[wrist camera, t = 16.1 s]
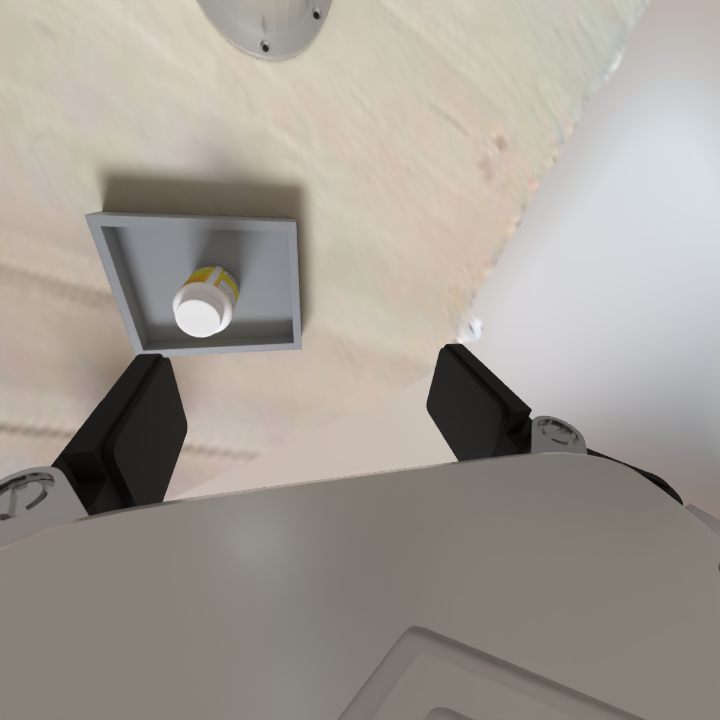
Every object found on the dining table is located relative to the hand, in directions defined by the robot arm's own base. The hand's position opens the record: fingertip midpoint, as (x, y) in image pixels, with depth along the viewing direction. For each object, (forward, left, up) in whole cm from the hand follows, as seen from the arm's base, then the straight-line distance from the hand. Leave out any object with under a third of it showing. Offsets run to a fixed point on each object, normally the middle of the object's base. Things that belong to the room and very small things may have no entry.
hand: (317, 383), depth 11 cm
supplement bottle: (+6, -9, -31) cm, 33 cm away
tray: (+6, -9, -32) cm, 34 cm away
